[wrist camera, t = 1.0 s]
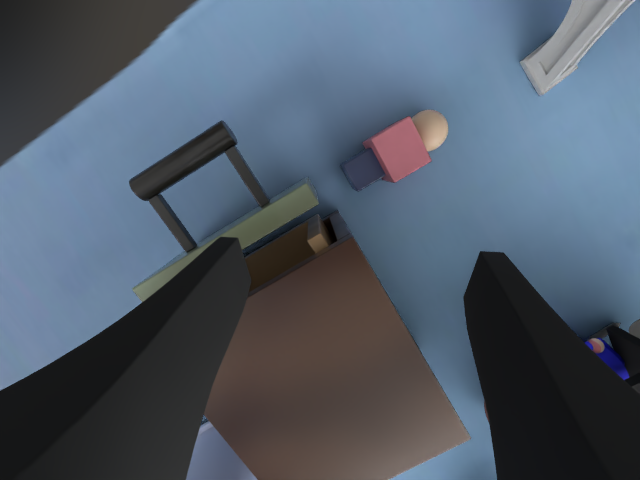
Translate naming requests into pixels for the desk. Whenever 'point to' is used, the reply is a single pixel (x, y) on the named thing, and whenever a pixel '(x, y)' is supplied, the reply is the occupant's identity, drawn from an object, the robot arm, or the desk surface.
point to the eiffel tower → (571, 41)
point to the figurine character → (618, 352)
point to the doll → (397, 150)
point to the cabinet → (329, 377)
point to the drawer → (246, 228)
